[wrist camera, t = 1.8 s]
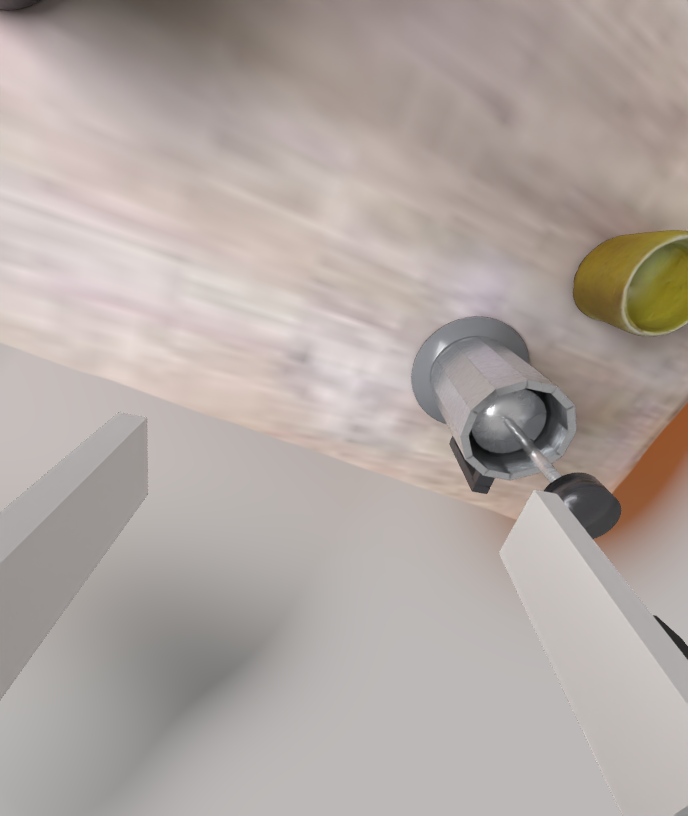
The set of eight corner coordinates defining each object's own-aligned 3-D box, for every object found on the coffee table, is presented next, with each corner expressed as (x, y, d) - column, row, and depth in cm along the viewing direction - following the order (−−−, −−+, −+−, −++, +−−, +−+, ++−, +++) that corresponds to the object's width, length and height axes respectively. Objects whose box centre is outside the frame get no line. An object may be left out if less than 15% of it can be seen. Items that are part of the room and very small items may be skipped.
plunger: (485, 378, 34) (563, 464, 22) (554, 393, 35) (667, 484, 23) (459, 441, 37) (515, 548, 25) (523, 454, 38) (608, 563, 25)
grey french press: (444, 327, 43) (486, 371, 31) (524, 345, 44) (596, 394, 31) (412, 423, 49) (436, 494, 36) (483, 437, 50) (531, 510, 37)
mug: (542, 319, 41) (634, 317, 32) (577, 225, 40) (683, 195, 31) (616, 351, 46) (717, 359, 36) (650, 267, 44) (763, 253, 35)
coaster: (432, 304, 43) (433, 305, 42) (546, 330, 44) (549, 332, 43) (397, 412, 49) (398, 414, 48) (499, 432, 50) (501, 434, 49)
